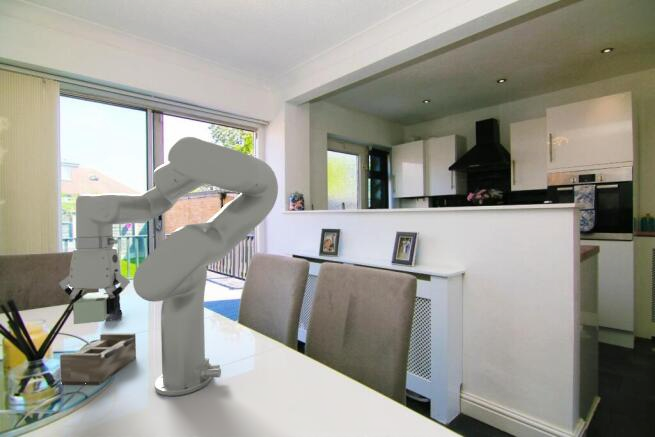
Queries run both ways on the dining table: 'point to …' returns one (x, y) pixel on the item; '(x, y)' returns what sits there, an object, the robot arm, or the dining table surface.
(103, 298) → the grey-green block
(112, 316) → the rock
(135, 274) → the robot arm
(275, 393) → the dining table surface
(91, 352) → the brown wooden box
